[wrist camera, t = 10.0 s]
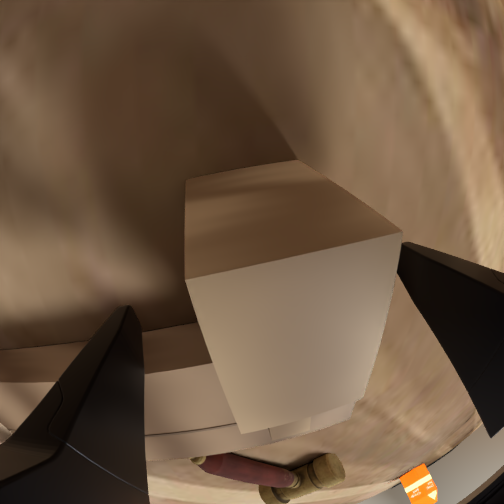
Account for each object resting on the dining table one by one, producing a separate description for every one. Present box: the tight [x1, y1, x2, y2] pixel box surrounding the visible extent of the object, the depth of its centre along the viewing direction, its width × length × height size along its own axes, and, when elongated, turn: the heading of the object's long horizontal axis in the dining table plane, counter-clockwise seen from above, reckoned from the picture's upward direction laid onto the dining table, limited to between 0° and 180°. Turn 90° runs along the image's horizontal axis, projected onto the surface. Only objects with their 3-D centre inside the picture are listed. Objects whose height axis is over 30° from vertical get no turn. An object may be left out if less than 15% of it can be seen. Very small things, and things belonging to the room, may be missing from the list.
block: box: [185, 160, 403, 441], centre depth 10 cm, size 4×12×6 cm, turn 7°
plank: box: [0, 322, 356, 461], centre depth 14 cm, size 24×10×3 cm, turn 97°
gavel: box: [190, 453, 345, 504], centre depth 23 cm, size 21×5×10 cm
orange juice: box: [400, 464, 437, 504], centre depth 68 cm, size 8×9×20 cm
